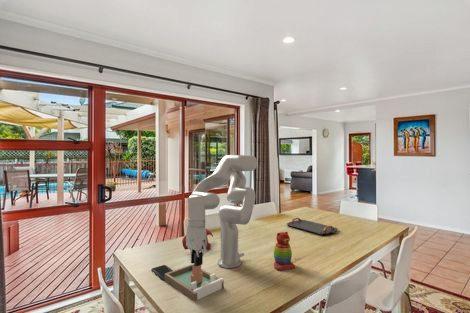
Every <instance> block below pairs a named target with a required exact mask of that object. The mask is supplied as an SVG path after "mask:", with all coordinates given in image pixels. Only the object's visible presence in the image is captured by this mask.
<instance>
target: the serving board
mask: <svg viewBox="0 0 470 313" xmlns="http://www.w3.org/2000/svg"><path fill="white" fill-rule="evenodd" d="M286 225H287V227H288V226H290V227H294V228H297V229H301V230H304V231H309V232H312V233H315V234H319V236H320V237H323V236H324V235H326V234H331V233H332V234H333V233H336V232H337V231H338V230H339V229H338V227H334V226H333V225H327V224H323V223H318V222H314V221H310V220H305V219H301V218H300V217H294V218H292V219H291V221H289V222H287V223H286Z"/></svg>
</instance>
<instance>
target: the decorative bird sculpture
mask: <svg viewBox="0 0 470 313" xmlns="http://www.w3.org/2000/svg"><path fill="white" fill-rule="evenodd" d="M206 235H207V236H211V237H212V238H214V235H213V233H212V231H211V230H209V229H207V228H206ZM181 244H182V247H183V249H184V250H190V249H189V247H187V246H186V235H184V237H183V238H182V240H181ZM211 247H212V244H211V243H210V242H209V239H208V237H207V247H206V250H207V251H210V249H211Z"/></svg>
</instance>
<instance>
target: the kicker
mask: <svg viewBox="0 0 470 313" xmlns="http://www.w3.org/2000/svg"><path fill="white" fill-rule="evenodd" d="M196 257H197V253H194V263H193V264H192V275H191V283H192V282H194V281H196V282H197V284H198V283H201V282H203V273H202V272H201V269H202V265H199V266H196Z"/></svg>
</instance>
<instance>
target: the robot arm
mask: <svg viewBox="0 0 470 313" xmlns="http://www.w3.org/2000/svg"><path fill="white" fill-rule="evenodd" d="M257 167H258V160H257V158H256V156H254V155H245V154H227V155H224V156H223V157H222V158H221V159H220V161H219V163H218V164H217V166H216V168H215V170H214V171H213V172H212V174H210V175H208V176H207V177H206V178H204V179H202V180H201V181H200V182H199V183H197V185H196V186H195V187H194V189H193V191H192V192H191V195H189V197H188V199H187V200H188V201H187V203H188V204H187V205H188V206H187V208H188V210H187V213H188V214H187V216H188V217H187V218H188V222H187V223H188V225H187V226H186V233H185V236H186V246H187V247H188V248H189V249H188V250H190V251H189V253H190V264H192V265H194V253H197V257H196V266H199V265H201V266H202V265H203V261H204V260H203V257H204V255H205V254H206V253H208V250H207V249H206V247H207V238H208V235H206V229H207V228H206V210H215V209H216V208H218V207H219V205H220V202H221V201H220V197H219V195H218V194H217V193H215V192H210V191H211V190H213V189H216V188H219V187H222V186H225V185H226V184H227V183H228V181H229V180H230V177H231V180H230V185H229V187H228V191H227V194H226V201H227V202H229V203H230V204H223V205H222V206H220V208H219V210H218V218H219V224H220V258H219V259H218V260H217V264H218V266H219V267H221V268H224V269H233V268H234V269H235V268H238V267H239V266H241V264H242V260H241V259H240V258H242V257H244V256H245V252H240V253H239V229H238V225H242V226H245V225H248V224H249V223H250V221H251V218H252V214H253V210H254V206H255V204H256V203H255V201H256V192H255V190H254V189H253V188H251V187H247V186H246V184H247V178H246V176H245V174H244V173H243V172H252V171H255V170H256V168H257ZM236 204H237V205H236Z"/></svg>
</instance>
